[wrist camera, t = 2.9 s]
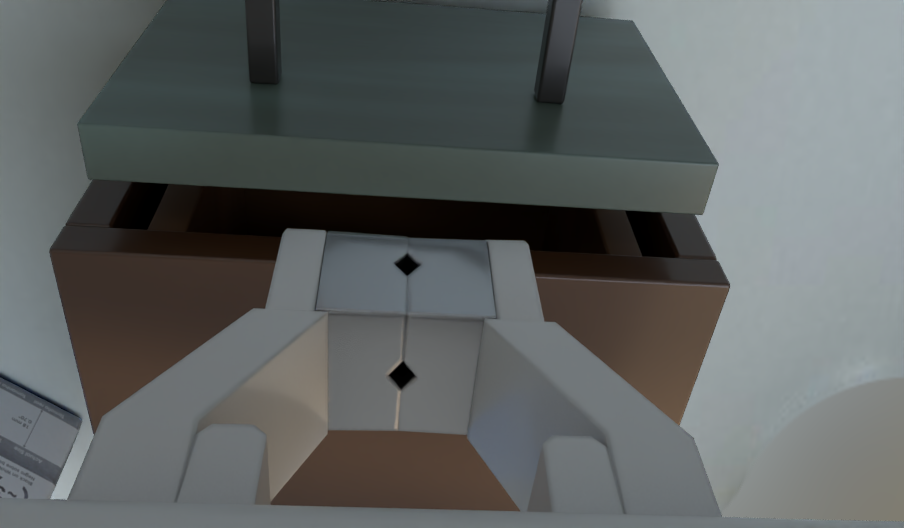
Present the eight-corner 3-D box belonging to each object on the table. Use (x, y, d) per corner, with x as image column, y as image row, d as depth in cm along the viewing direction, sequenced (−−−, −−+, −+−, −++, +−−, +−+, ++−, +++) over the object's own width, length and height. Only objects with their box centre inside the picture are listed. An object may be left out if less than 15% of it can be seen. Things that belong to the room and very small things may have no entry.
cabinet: (171, 49, 23) (47, 250, 15) (630, 82, 24) (732, 284, 17) (215, 431, 33) (151, 678, 25) (546, 442, 34) (586, 682, 26)
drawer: (157, -205, 19) (25, -134, 12) (672, -155, 20) (793, -67, 13) (219, 387, 30) (167, 584, 24) (548, 400, 31) (582, 592, 25)
